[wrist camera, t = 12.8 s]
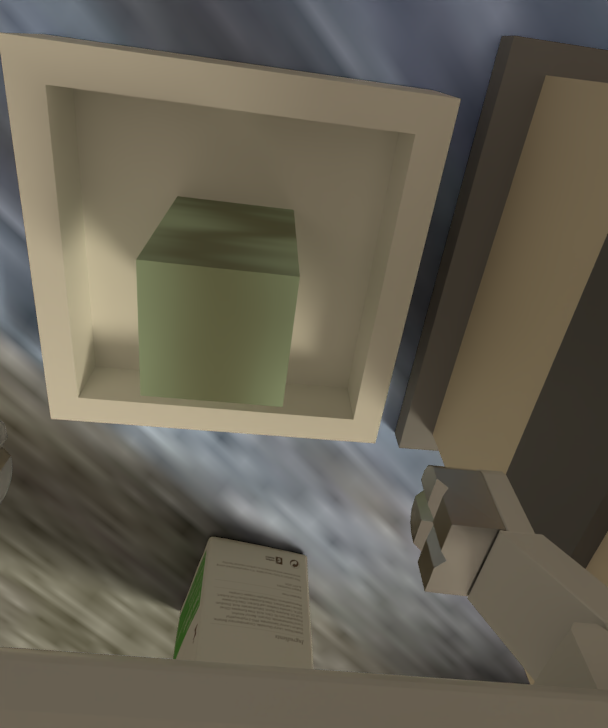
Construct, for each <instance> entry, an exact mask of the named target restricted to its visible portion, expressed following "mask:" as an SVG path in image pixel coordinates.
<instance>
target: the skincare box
mask: <svg viewBox="0 0 608 728" xmlns="http://www.w3.org/2000/svg"><path fill="white" fill-rule="evenodd" d="M173 659H179V660H193V661H207V662H221V663H235V664H249V665H263V666H277V667H292V668H306V669H313V654H312V638H311V622H310V606H309V589H308V571H307V557H306V556H305V555H301V554H297V553H293V552H289V551H284V550H279V549H275V548H270V547H265V546H261V545H256V544H250V543H245V542H240V541H235V540H230V539H225V538H219V537H210V538H209V540H208V542H207V545H206V547H205V550H204V553H203V555H202V557H201V560H200V562H199V565H198V567H197V570H196V573H195V575H194V578H193V580H192V583H191V586H190V588H189V591H188V594H187V596H186V599H185V601H184V603H183V606H182V608H181V611H180V616H179V622H178V628H177V634H176V641H175V647H174V654H173Z"/></svg>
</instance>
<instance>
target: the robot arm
mask: <svg viewBox="0 0 608 728" xmlns="http://www.w3.org/2000/svg"><path fill="white" fill-rule="evenodd" d="M6 439H7V433H6V428H5V424H4V423H3V422H1V421H0V503H1V502H2V500H3V498H4V497H5V495H6V494H7V491H8V488H9V485H10V482H11V478H12V460H11V455H10V454H9V453H8V452H7V451H6V450H5V449H4V448H3V447H2V444H3V443H4V442H5V440H6ZM421 482H422V485H423V489H424V490H423V491H422V492H420V493H419V494H418V495H416V496H415V499H414V502H413V506H412V510H411V520H410V524H411V534H412V539H413V543H414V544H415V545H416V546H417V547H418V548H419V549H420V550H421V551H422V552H421V554H420V557H419V560H418V565H419V569H420V573H421V578H422V582H423V586H424V590H425V591H426V592H434V593H443V594H452V595H461V596H468V600H469V601H470V602H471V603H472V605H473V606H474V607H475V608H476V610H477V611H478V612H479V613H480V614H481V616H482V617H483V618H484V619H485V621H486V622H487V623H488V624H489V626H490V627H491V628H492V629H493V630H494V632H495V633H496V634H497V635H498V637H499V638H500V639H501V640H502V642H503V643H504V644H505V645H506V646H507V648H508V649H509V650H510V651H511V653H512V654H513V655H514V656H515V658H516V659H517V660H518V661H519V662H520V664H521V665H522V666H523V667H524V669H525V670H526V671H527V672H528V674H529V675H530V676H531V677H532V678H533V680H534V681H535V682H534V684H533V685H531V684H517V683H503V682H489V681H476V680H462V679H448V678H434V677H420V676H406V675H391V674H377V673H363V672H349V671H334V670H320V669H306V668H292V667H277V666H263V665H249V664H235V663H221V662H207V661H193V660H179V659H165V658H151V657H137V656H123V655H109V654H95V653H82V652H68V651H54V650H40V649H26V648H12V647H0V728H608V587H607V586H606V585H605V584H603V583H602V582H601V581H600V580H598V579H597V578H596V577H595V576H593V575H592V574H591V573H590V572H588V571H587V570H586V569H585V568H583V567H582V566H581V565H580V564H578V563H577V562H576V561H575V560H573V559H572V558H571V557H570V556H568V555H567V554H566V553H565V552H564V551H562V550H561V549H560V548H559V547H557V546H556V545H555V544H554V543H552V542H551V541H550V540H549V539H547V538H546V537H545V536H544V535H541V534H535V533H534V531H533V529H532V526H531V524H530V522H529V520H528V518H527V516H526V514H525V512H524V510H523V508H522V506H521V504H520V502H519V500H518V498H517V496H516V494H515V492H514V490H513V488H512V486H511V484H510V482H509V480H508V478H507V476H506V474H504V473H503V472H502V471H491V470H479V469H477V470H473V469H463V468H453V467H443V466H433V465H428V466H427V468H426V469H425V470H424V473H423V476H422V479H421Z"/></svg>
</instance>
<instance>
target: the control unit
mask: <svg viewBox="0 0 608 728" xmlns="http://www.w3.org/2000/svg"><path fill="white" fill-rule="evenodd" d="M395 436H396V439H397V442H398V446H399V448H409V449H422V450H435V451H439V452H440V455H441V457H442V460H443V463H444V465H445V467H453V468H463V469H473V470H477V469H479V470H491V471H502V472H503V473H504V474H506V476H507V478H508V480H509V482H510V484H511V486H512V488H513V490H514V492H515V494H516V496H517V498H518V500H519V502H520V504H521V506H522V508H523V510H524V512H525V514H526V516H527V518H528V520H529V522H530V524H531V526H532V529H533V531H534V533H535V534H541V535H544V536H545V537H546V538H547V539H549V540H550V541H551V542H552V543H554V544H555V545H556V546H557V547H559V548H560V549H561V550H562V551H564V552H565V553H566V554H567V555H568V556H570V557H571V558H572V559H573V560H575V561H576V562H577V563H578V564H580V565H581V566H582V567H583V568H585V569H586V570H587V571H588V572H590V573H591V574H592V575H593V576H595V577H596V578H597V579H598V580H600V581H601V582H602V583H603V584H605V585H606V586H607V587H608V50H603V49H596V48H590V47H584V46H577V45H571V44H564V43H558V42H552V41H545V40H539V39H533V38H526V37H520V36H502V37H501V41H500V44H499V48H498V52H497V56H496V59H495V63H494V67H493V70H492V74H491V78H490V82H489V85H488V89H487V93H486V96H485V100H484V104H483V107H482V111H481V115H480V119H479V122H478V126H477V130H476V133H475V137H474V141H473V145H472V148H471V152H470V156H469V159H468V163H467V167H466V171H465V174H464V178H463V182H462V185H461V189H460V193H459V196H458V200H457V204H456V208H455V211H454V215H453V219H452V222H451V226H450V230H449V234H448V237H447V241H446V245H445V248H444V252H443V256H442V259H441V263H440V267H439V271H438V274H437V278H436V282H435V285H434V289H433V293H432V297H431V300H430V304H429V308H428V311H427V315H426V319H425V323H424V326H423V330H422V334H421V337H420V341H419V345H418V348H417V352H416V356H415V360H414V363H413V367H412V371H411V374H410V378H409V382H408V386H407V389H406V393H405V397H404V400H403V404H402V408H401V412H400V415H399V419H398V423H397V426H396V430H395ZM524 670H525V669H524ZM525 672H526V675H527V677H528V680H529V682H530V684H531V685H533V684H534V682H535V681H534V680H533V678H532V677H531V676H530V675H529V674H528V672H527V671H526V670H525Z"/></svg>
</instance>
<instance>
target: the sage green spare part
mask: <svg viewBox="0 0 608 728" xmlns="http://www.w3.org/2000/svg"><path fill="white" fill-rule="evenodd" d="M136 274H137V305H138V335H139V366H140V396H152V397H164V398H177V399H189V400H201V401H214V402H226V403H239V404H251V405H263V406H276V407H283V401H284V393H285V386H286V378H287V370H288V363H289V355H290V348H291V340H292V333H293V325H294V317H295V310H296V302H297V295H298V287H299V280H300V273H299V262H298V251H297V240H296V229H295V217H294V210H291V209H282V208H274V207H265V206H257V205H248V204H240V203H231V202H223V201H214V200H206V199H198V198H189V197H181V196H177V198H176V199H175V201H174V202H173V204H172V205H171V207H170V208H169V210H168V211H167V213H166V214H165V216H164V218H163V219H162V221H161V222H160V224H159V225H158V227H157V228H156V230H155V231H154V233H153V234H152V236H151V237H150V239H149V240H148V242H147V244H146V245H145V247H144V248H143V250H142V251H141V253H140V254H139V256H138V257H137V259H136Z"/></svg>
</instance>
